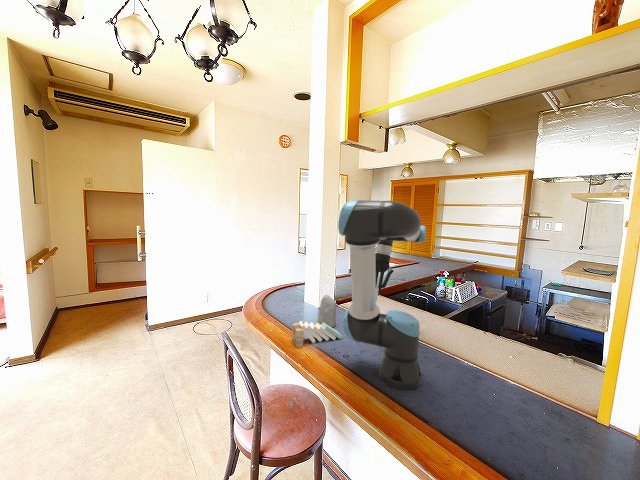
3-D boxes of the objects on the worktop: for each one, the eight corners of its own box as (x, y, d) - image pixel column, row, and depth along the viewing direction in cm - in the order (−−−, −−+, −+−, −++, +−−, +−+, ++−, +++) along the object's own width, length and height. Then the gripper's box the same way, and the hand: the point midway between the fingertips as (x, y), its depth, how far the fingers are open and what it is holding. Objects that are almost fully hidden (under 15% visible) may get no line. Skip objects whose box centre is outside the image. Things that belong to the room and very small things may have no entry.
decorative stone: (338, 326, 140) (338, 298, 138) (329, 329, 136) (330, 300, 134) (324, 319, 148) (324, 293, 146) (315, 322, 144) (316, 295, 142)
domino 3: (329, 338, 123) (314, 326, 120) (327, 341, 123) (312, 328, 120) (325, 333, 128) (311, 321, 125) (323, 336, 128) (309, 324, 125)
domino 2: (322, 339, 122) (309, 325, 119) (320, 342, 122) (306, 328, 119) (319, 334, 127) (306, 321, 124) (316, 337, 127) (303, 323, 124)
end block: (303, 346, 118) (303, 330, 117) (296, 347, 117) (296, 331, 116) (298, 338, 125) (298, 322, 125) (292, 339, 124) (292, 323, 124)
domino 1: (315, 341, 121) (304, 324, 118) (312, 343, 121) (301, 327, 118) (312, 336, 126) (301, 320, 123) (309, 338, 126) (298, 322, 123)
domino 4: (336, 337, 124) (320, 326, 121) (334, 340, 124) (318, 329, 121) (332, 332, 129) (317, 322, 126) (330, 335, 129) (315, 325, 126)
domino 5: (342, 336, 125) (326, 326, 122) (340, 339, 125) (324, 329, 122) (338, 331, 130) (323, 321, 127) (336, 334, 130) (321, 324, 127)
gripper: (394, 256, 136) (385, 301, 135) (368, 251, 136) (360, 297, 135) (398, 256, 128) (389, 305, 127) (371, 251, 128) (362, 299, 128)
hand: (374, 300), depth 131 cm, fingers closed
